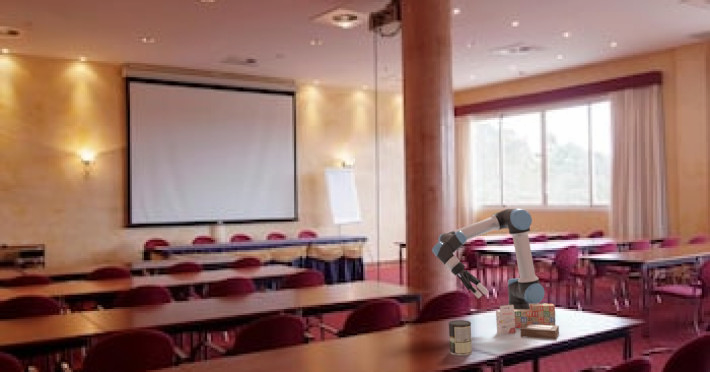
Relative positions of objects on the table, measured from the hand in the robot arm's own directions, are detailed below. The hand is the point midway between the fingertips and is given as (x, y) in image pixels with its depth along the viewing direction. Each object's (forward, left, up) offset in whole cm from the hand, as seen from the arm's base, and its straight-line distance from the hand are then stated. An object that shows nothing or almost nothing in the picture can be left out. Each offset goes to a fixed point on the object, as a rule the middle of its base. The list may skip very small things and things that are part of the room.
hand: (483, 294), depth 338 cm
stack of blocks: (-19, +23, -20) cm, 36 cm away
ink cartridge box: (0, +11, -20) cm, 23 cm away
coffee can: (+48, 0, -20) cm, 52 cm away
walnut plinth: (+1, +29, -19) cm, 35 cm away
